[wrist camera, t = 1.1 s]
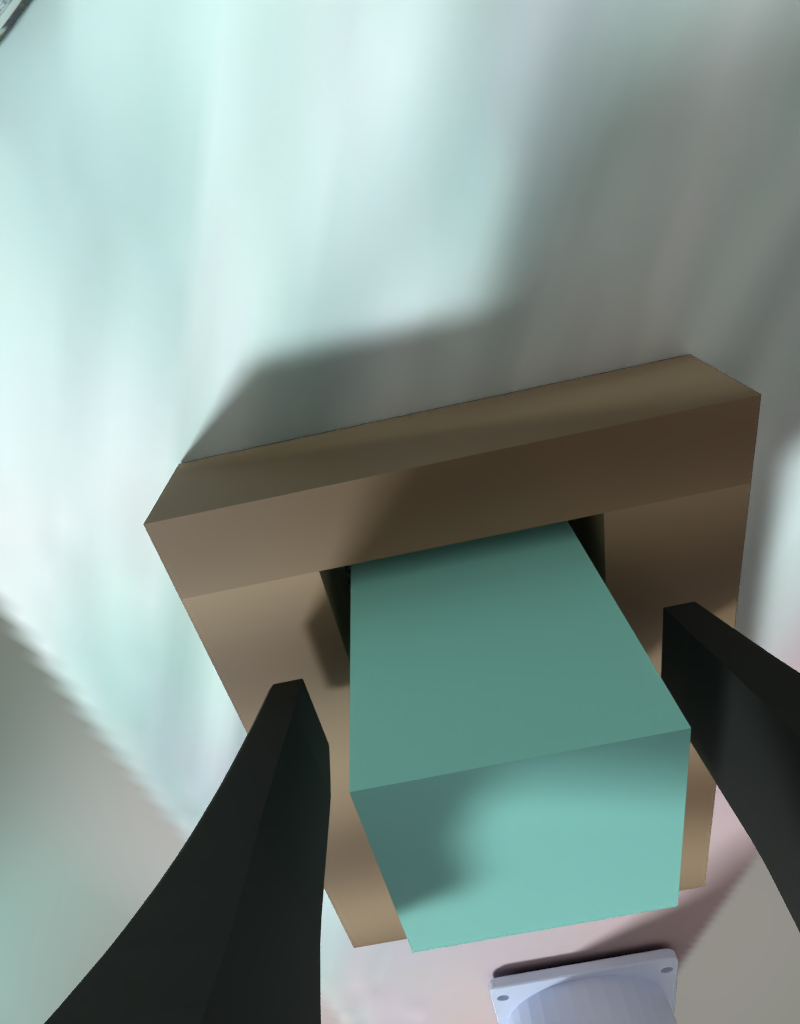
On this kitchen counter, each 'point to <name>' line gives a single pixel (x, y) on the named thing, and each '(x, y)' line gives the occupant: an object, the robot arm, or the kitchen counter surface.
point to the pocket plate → (453, 519)
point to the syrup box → (10, 13)
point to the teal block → (510, 741)
